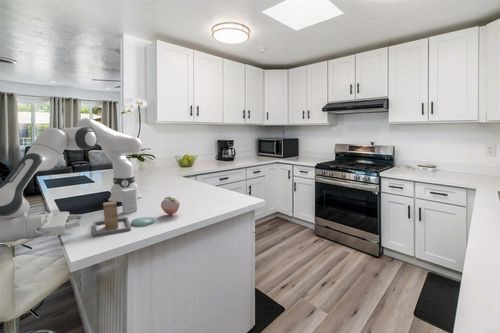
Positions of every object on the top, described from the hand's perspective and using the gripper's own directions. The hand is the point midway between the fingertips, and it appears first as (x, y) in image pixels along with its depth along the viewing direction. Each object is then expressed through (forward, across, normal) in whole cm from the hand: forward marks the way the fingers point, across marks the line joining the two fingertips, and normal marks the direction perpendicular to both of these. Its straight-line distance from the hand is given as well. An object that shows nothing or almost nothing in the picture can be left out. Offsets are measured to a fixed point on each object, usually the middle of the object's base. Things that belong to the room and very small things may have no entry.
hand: (80, 220), depth 110 cm
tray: (+11, 0, +5) cm, 13 cm away
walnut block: (+11, 0, +5) cm, 13 cm away
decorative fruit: (+38, +5, +6) cm, 39 cm away
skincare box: (+20, +21, +6) cm, 30 cm away
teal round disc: (+24, 0, +5) cm, 25 cm away
